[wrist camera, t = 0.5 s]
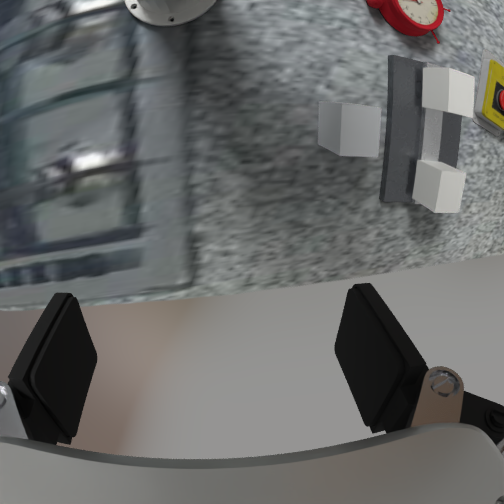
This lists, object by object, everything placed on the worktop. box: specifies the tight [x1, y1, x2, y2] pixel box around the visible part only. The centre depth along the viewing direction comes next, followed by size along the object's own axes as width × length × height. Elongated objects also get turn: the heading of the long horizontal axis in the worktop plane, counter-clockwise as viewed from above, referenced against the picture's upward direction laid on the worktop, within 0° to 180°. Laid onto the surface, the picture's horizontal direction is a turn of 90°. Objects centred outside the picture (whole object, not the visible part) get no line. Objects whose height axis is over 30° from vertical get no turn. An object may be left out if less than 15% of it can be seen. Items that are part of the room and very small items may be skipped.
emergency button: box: [472, 49, 504, 137], centre depth 35 cm, size 9×4×15 cm
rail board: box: [379, 55, 462, 204], centre depth 39 cm, size 22×14×2 cm, turn 1°
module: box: [318, 101, 381, 157], centre depth 35 cm, size 6×5×8 cm
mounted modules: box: [412, 68, 474, 213], centre depth 35 cm, size 20×5×6 cm, turn 1°
